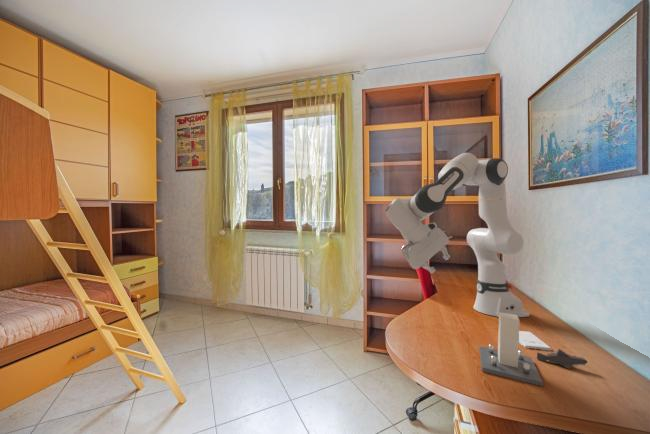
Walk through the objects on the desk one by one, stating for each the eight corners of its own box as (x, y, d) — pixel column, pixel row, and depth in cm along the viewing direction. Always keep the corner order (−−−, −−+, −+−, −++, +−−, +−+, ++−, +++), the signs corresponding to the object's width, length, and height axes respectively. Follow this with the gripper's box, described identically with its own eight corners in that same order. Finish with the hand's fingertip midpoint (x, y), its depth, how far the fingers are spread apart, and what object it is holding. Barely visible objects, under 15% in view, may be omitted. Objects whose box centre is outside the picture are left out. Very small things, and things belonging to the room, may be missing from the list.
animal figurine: (538, 366, 83) (535, 350, 83) (536, 360, 87) (533, 344, 87) (591, 372, 77) (587, 354, 77) (586, 365, 81) (583, 348, 81)
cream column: (497, 356, 84) (499, 312, 84) (515, 360, 82) (516, 314, 82) (499, 363, 80) (501, 317, 80) (517, 367, 78) (519, 320, 78)
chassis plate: (479, 349, 90) (479, 338, 90) (530, 360, 84) (531, 349, 84) (482, 371, 78) (482, 358, 78) (542, 386, 71) (543, 372, 71)
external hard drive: (530, 336, 103) (551, 352, 90) (507, 333, 104) (524, 349, 92) (530, 331, 103) (552, 347, 90) (507, 329, 104) (524, 344, 92)
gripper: (404, 246, 95) (429, 278, 92) (437, 220, 104) (461, 249, 101) (395, 251, 100) (419, 282, 97) (427, 226, 110) (450, 254, 107)
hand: (441, 265), depth 99 cm, fingers open, 8 cm apart
